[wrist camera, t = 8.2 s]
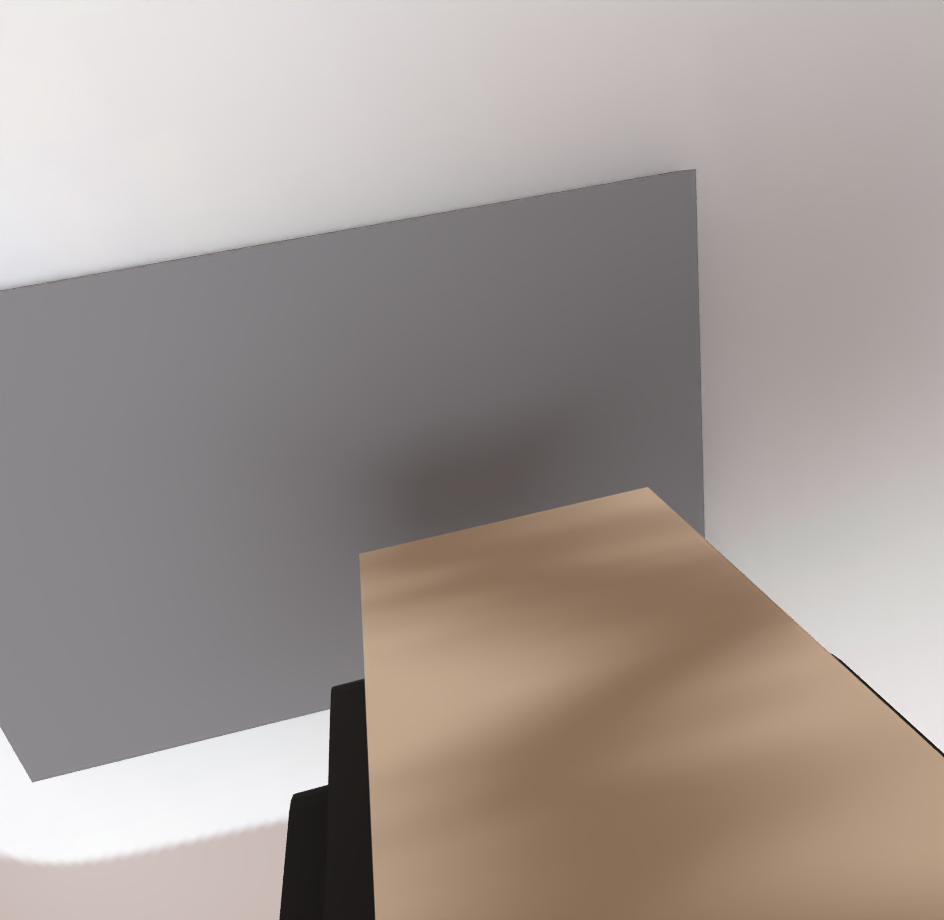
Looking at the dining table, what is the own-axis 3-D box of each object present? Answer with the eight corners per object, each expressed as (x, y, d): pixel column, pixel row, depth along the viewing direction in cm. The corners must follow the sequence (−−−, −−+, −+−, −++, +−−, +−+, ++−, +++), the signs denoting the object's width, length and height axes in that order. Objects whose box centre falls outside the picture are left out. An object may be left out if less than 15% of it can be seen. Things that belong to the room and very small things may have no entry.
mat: (677, 171, 18) (695, 169, 17) (692, 599, 23) (706, 615, 22) (-193, 324, 16) (-227, 332, 15) (46, 757, 21) (32, 782, 20)
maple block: (647, 486, 11) (2029, 1748, 2) (661, 709, 13) (1404, 1881, 4) (359, 553, 11) (454, 2676, 1) (417, 776, 13) (616, 2314, 3)
